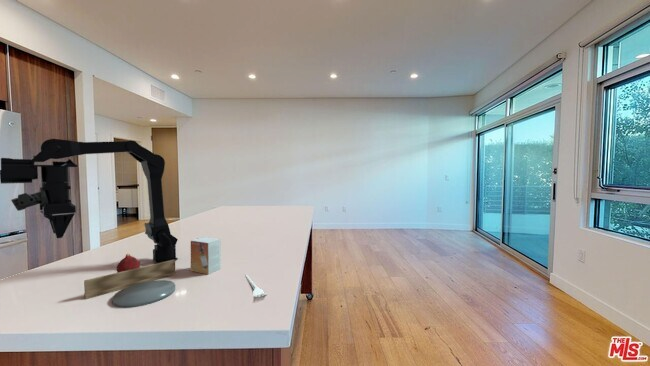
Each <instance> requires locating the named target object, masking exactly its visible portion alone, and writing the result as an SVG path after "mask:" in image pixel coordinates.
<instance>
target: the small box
mask: <svg viewBox="0 0 650 366" xmlns="http://www.w3.org/2000/svg"><path fill="white" fill-rule="evenodd" d="M221 244H222V243H221V239H220V238H211V237H200V238H195V239H191V240H190V271H191V272H193V273H194V272H196V273H200V274H204V275H211V274H213V273H215V272H217V271H219V270H221V267H222V266H221V261H222V258H221Z"/></svg>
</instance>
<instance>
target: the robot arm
mask: <svg viewBox="0 0 650 366" xmlns="http://www.w3.org/2000/svg"><path fill="white" fill-rule="evenodd" d="M117 153H127V154H129V156H131V157H132V158H134V159H135V160H136V161H137V162H139V163H141V164H140V165H141V169H142V172H143V174H144V176H145V178H146V181H147V182H146V183H147V193H148V203H149V204H148V205H149V215H150V217H149V222H144V227H145V232H144V234H145V235H147V238H148V239H150V240H152V241H153V243H154V248H153V249H152V261H153V262H155V263H156V264H157V263H161V262H165V261H170V260H175V261H177V260H178V259H179V258H178V257H177V252H176V251H177V249H176V248H177V247H176V245H177V242H178V241H179V240H178V238H176V237H175V236H174V235H173V234H172V233H171V229H170V227H169V226H170V225H169V223H168V221H167V220H166V217H165V208H164V207H165V205H164V195H163V185H162V178H163V175H164V171H165V166H166V161H165V158H164V157H163V156H161V155H160V154H157V153H154V152H153V151H151V150H150V149H147V148H146V147H144V146H142V145H141V144H139V143H138V142H137V141H135V140H126V141H124V140H123V141H115V140H114V141H85V142H83V141H75V140H68V139H62V138H61V139H59V138H49V139H46V140H44V141H43V142H42V143H41V144H40V146H39V152H38V153H37V154H36V155H33V156H32V159H27V158H11V157H10V158H9V157H1V158H0V185H3V184H33V181H34V180H38V179H39V174H38V169H39V168H40V181H41V182H40V183H41V186H40V187H39V191H36V192H33V193H27V192H24V193H21V194H18V195H17V197H16V198H12V199H11V200H10V201H11V202H12V204H13V206H14V207H15V209H16V210H17V211H23V210H25V209H27V208H30V207H33V206H36V205H39V211H40V213H42V215H43V217H44V218H46V219H47V220H49V224H50V226H51V229H52V233H53V234H55V236H56V239H62V238H64V235H65V233H66V231H67V229H68V227H69V225H70V223H71V222H72V219H73V218H74V216H75V214H76V213H77V209H76V205H75V204H73V203H72V199H71V192H70V191H71V185H70V171H69V170H70V168H77V167H78V164H76V163H75V162H74V161H72V159H71V157H78V156H82V155H98V154H99V155H100V154H117ZM68 158H69V159H68ZM62 159H67V160H66V161H58V160H62ZM49 160H53V161H51V164H41V163H44V162H47V161H49ZM55 160H56V161H55ZM35 163H37V164H35Z"/></svg>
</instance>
